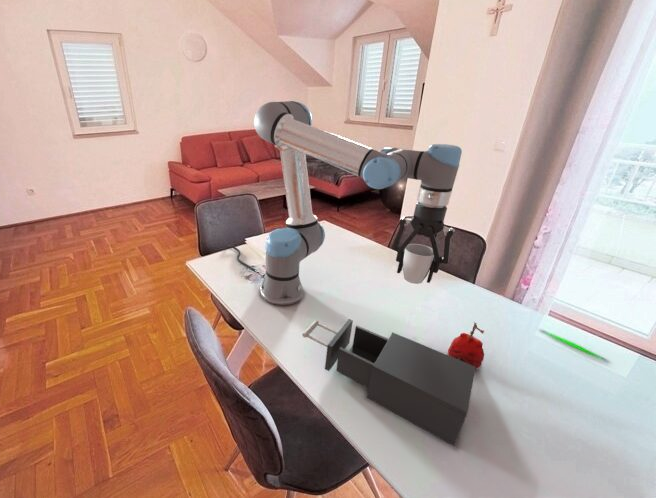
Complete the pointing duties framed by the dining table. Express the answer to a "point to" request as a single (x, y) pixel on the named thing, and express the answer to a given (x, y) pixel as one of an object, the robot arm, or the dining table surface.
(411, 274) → the cup
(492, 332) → the dining table surface
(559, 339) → the leaf
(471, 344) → the red fruit with stem
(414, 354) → the grey storage cabinet
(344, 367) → the drawer
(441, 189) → the robot arm
